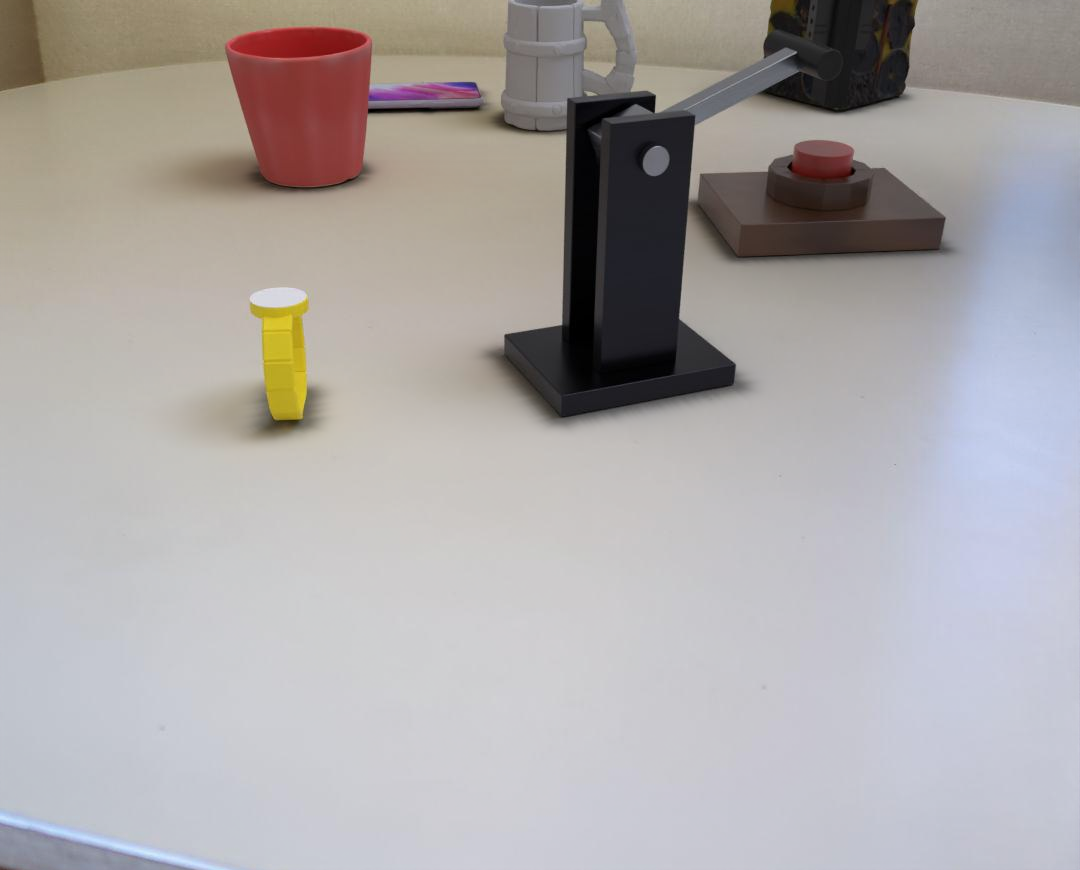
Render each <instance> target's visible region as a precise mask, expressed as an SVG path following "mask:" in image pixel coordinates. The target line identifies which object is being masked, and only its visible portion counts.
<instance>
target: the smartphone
mask: <svg viewBox="0 0 1080 870" xmlns="http://www.w3.org/2000/svg"><path fill="white" fill-rule="evenodd" d="M483 103H484V97H483V95H482V93H481V90H480V88H479V85H478V83H477V82H475V81H444V82H443V81H440V82H398V83H396V82H395V83H393V82H391V83H370V88H369V102H368V110H378V109H379V110H380V109H381V110H382V109H383V110H384V109H423V108H425V109H426V108H427V109H428V108H429V109H433V110H434V109H467V108H468V109H471V108H475V109H476V108H478V107H481V106H482V105H483Z"/></svg>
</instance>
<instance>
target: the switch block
mask: <svg viewBox="0 0 1080 870" xmlns="http://www.w3.org/2000/svg"><path fill="white" fill-rule="evenodd" d="M792 160H793V154H788V155H785V156H782V157H777V158H774V159H773V160H772V161H771V163H770V164H769V165H768V168H767V171H741V172H740V171H739V172H709V173H700V174H699V180H698V192H697V193H698V194H697V204H698V206H699V207H700V208H701V209H702V211H703V212H704V213H705V215H706V216H707V218H708V219H709V220H710V221H711V223H712V224H713V225H714V227H715V228H716V230H717V231H718V232H719V234H720V235H721V236H722V237H723V239H724V241H726V243H727V244H728V245H729V247H730V248H731V250H732V251H733V252H734V253H735V255H736V257H739V258H740V257H742V258H743V257H744V258H745V257H769V256H792V255H793V256H794V255H815V254H817V255H818V254H821V255H822V254H840V253H842V254H843V253H845V254H846V253H869V252H893V251H895V252H896V251H914V250H915V251H917V250H918V251H920V250H939V249H940V248H941V245H942V240H943V239H942V238H943V233H944V229H945V224H946V220H947V219H946V218H947V217H946V216H945V215H944V214H942V213H941V212H940V211H938V210H937V208H935V207H934V206H933V205H931V204H930V203H929V202H927V200H925V199H924V198H922V196H920V195H919V194H918V193H916V192H915V191H914V190H913V189H912V188H910V187H909V186H908V185H907V184H905V183H904V182H903V181H901V180H900V179H899V178H898V177H897V176H895V175H894V173H892V172H891V171H889V170H888V169H887V168H885V167H870V166H869V165H868V164H866V163H865V162H863V161H859V160H855V159H853V162H852V169H851V175H850V176H848V177H844V178H834V179H820V178H813V177H805V176H802V175H799V174H796V173H793V172H791V168H792Z"/></svg>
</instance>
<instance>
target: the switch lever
mask: <svg viewBox="0 0 1080 870" xmlns="http://www.w3.org/2000/svg"><path fill="white" fill-rule="evenodd" d="M762 50H763V54H764V53H765V55H766V58H764V57H763V58H764V59H763V58H762V59H760V60H759V61H757V62H754V63H752V64H751V65H749V66H747V67H745V68H743V69H741V70H739V71H737V72H735V73H733V74H731V75H730V76H727V77H725V78H724V79H722V80H720V81H717V82H716V83H713V84H712V85H710V86H708V87H706V88H704V89H702V90H700V91H698V92H696V93H694V94H692V95H691V96H689V97H687V98H684V99H683V100H680V101H679V102H677V103H675V104H673V105H671V106H669V107H667V108H665V109H663V110H662V111H660V112H658V113H661V112H671V111H681V110H686V111H688V112H690V113H692V114H694V115H695V126H697V125H699V124H701V123H703V122H705V121H706V120H709V119H710V118H712V117H714V116H716V115H718V114H720V113H722V112H724V111H726V110H728V109H729V108H732V107H734V106H735V105H737V104H739V103H741V102H743V101H746V100H747V99H749V98H752V97H753V96H755V95H757V94H759V93H760V92H762V91H763V90H764V89H766V88H768V87H770V86H772V85H774V84H776V83H778V82H780V81H782V80H784V79H785V78H787V77H789V76H791V75H793V74H795V73H797V72H799V71H801V72H804V73H806V74H809V75H811V76H814V77H816V78H819V79H821V80H824V81H829V80H832V79H834V78H835V77H836V76H837V75H838V74H839V72H840V71H841V68H842V64H843V59H842V56H841V54H840V52H839V51H837V50H835V49H832V48H829V47H827V46H824V45H821V44H818V43H816V42H813V41H810V40H807V39H804V38H802V37H799V36H796V35H793V34H791V33H788V32H785V31H782V30H774V31H772V32H770V33H769V34H768V35H767V34H766V37H765V38H764V41H763V45H762ZM651 113H653V112H651V111H649V110H647V109H645V108H643V107H641V106H640V105H638V104H635V105H633V106H631V107H629V108H627V109H625V110H623V111H621V112H619V113H617V114H615V115H613V116H611V117H609V118H613V117H622V116H632V115H642V114H651ZM588 133H589V136H590V139H591V142H592V146H593V149H594V152H595V155H596V159H597V162H598V165H599V168H600V160H601V135H602V122H600V123H598V124H596V125H594V126H592V127H590V128H588Z"/></svg>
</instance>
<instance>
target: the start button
mask: <svg viewBox="0 0 1080 870" xmlns="http://www.w3.org/2000/svg"><path fill="white" fill-rule="evenodd" d="M792 153H793V154H792V155H793V160H792V168H791V172H793V173H796V174H799V175H802V176H805V177H813V178H820V179H834V178H844V177H848V176H850V175H851V169H852V162H853V160H854V155H855V149H854V148H853V147H852V146H851V145H849V144H846V143H844V142H840V141H835V140H826V139H809V140H803V141H799V142H797V143H795V144H794V146H793V152H792Z"/></svg>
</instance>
